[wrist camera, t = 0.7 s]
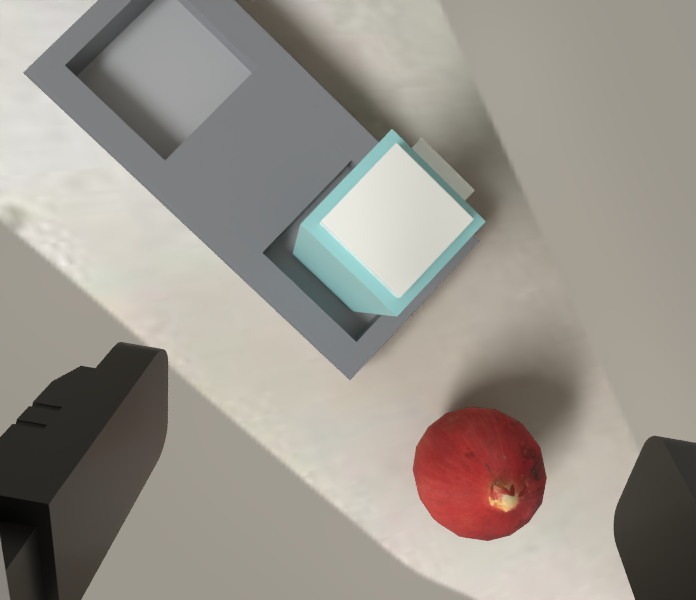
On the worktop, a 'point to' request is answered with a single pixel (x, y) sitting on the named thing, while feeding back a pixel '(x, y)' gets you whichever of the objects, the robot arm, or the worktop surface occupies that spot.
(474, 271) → the worktop surface
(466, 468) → the onion
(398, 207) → the plug
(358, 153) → the panel
